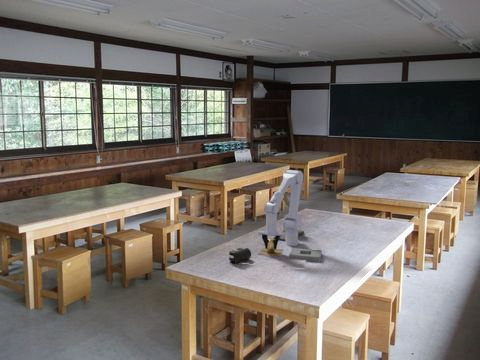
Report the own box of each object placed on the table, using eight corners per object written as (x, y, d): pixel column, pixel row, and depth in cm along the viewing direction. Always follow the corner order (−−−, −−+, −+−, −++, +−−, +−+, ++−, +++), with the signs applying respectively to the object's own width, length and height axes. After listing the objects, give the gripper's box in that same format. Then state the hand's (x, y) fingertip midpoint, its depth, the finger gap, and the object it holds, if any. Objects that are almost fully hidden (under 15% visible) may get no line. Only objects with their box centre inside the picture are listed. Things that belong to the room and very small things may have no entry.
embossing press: (305, 234, 296) (307, 187, 291) (286, 242, 277) (287, 193, 272) (290, 231, 302) (292, 185, 297) (271, 239, 283) (272, 190, 278)
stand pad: (262, 249, 263) (262, 248, 263) (283, 251, 260) (283, 249, 260) (257, 256, 252) (257, 254, 252) (280, 257, 249) (280, 256, 249)
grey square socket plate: (292, 252, 258) (292, 248, 258) (321, 254, 255) (321, 250, 254) (289, 259, 247) (289, 254, 246) (319, 261, 243) (319, 257, 243)
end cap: (239, 266, 236) (239, 253, 235) (228, 263, 240) (228, 250, 239) (251, 261, 244) (251, 248, 242) (240, 258, 248) (240, 246, 247)
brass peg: (267, 250, 259) (267, 238, 257) (275, 251, 258) (275, 238, 256) (266, 253, 254) (266, 240, 253) (274, 253, 253) (274, 241, 252)
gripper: (256, 225, 251) (256, 249, 253) (283, 227, 248) (283, 251, 250) (259, 222, 258) (259, 245, 260) (285, 223, 255) (284, 248, 257)
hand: (270, 248), depth 256 cm, fingers open, 4 cm apart
